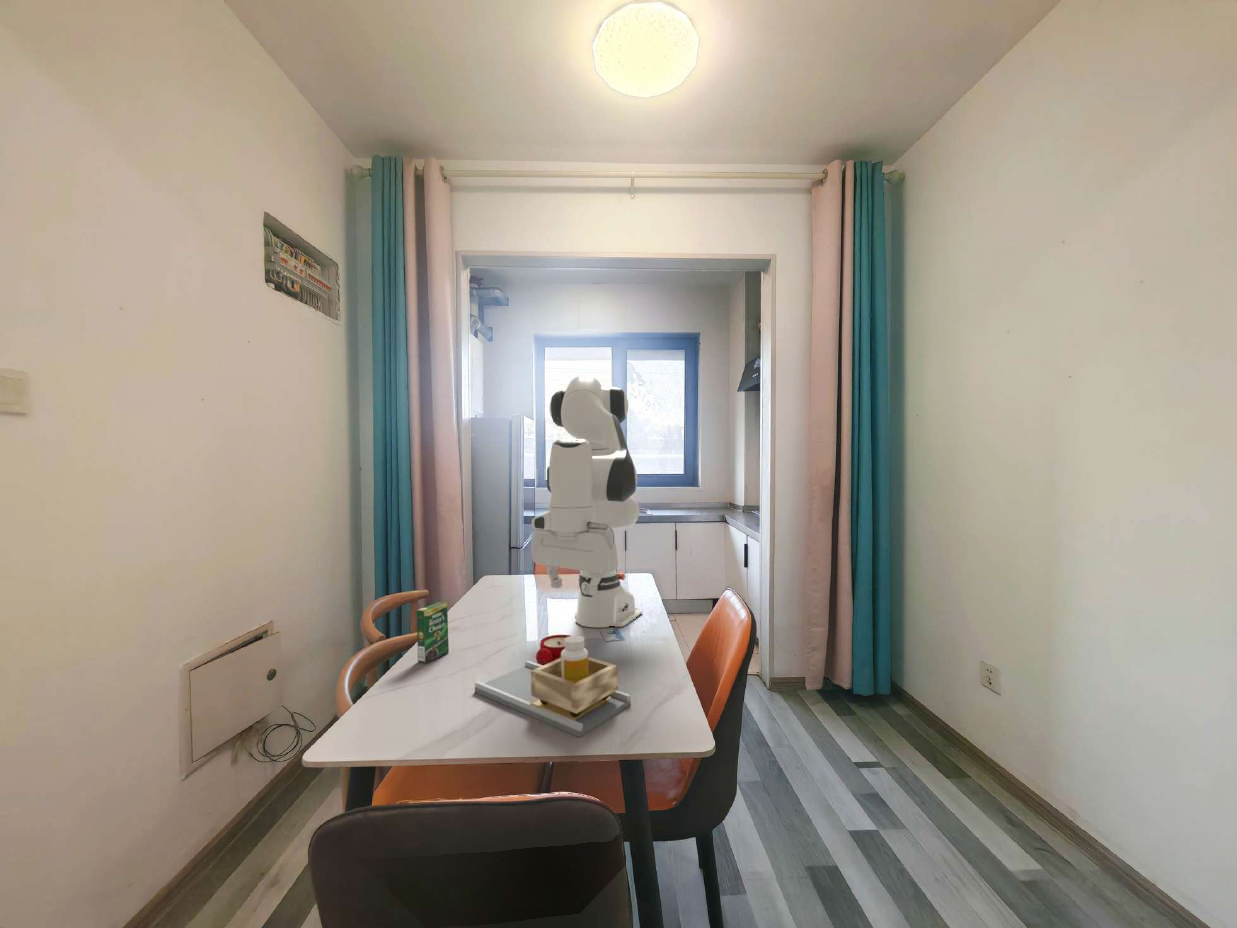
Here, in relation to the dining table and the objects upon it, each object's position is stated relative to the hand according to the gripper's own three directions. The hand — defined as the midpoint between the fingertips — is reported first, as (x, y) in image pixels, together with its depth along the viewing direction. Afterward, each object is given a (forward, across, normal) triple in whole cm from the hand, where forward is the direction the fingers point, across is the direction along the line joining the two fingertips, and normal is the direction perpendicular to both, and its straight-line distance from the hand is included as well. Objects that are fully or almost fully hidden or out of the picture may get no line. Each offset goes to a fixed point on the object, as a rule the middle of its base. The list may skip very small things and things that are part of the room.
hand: (573, 591), depth 100 cm
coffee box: (+23, +47, +2) cm, 52 cm away
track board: (+23, +7, 0) cm, 24 cm away
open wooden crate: (+22, 0, 0) cm, 22 cm away
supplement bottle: (+19, 0, 0) cm, 19 cm away
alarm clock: (+24, +21, -16) cm, 35 cm away
